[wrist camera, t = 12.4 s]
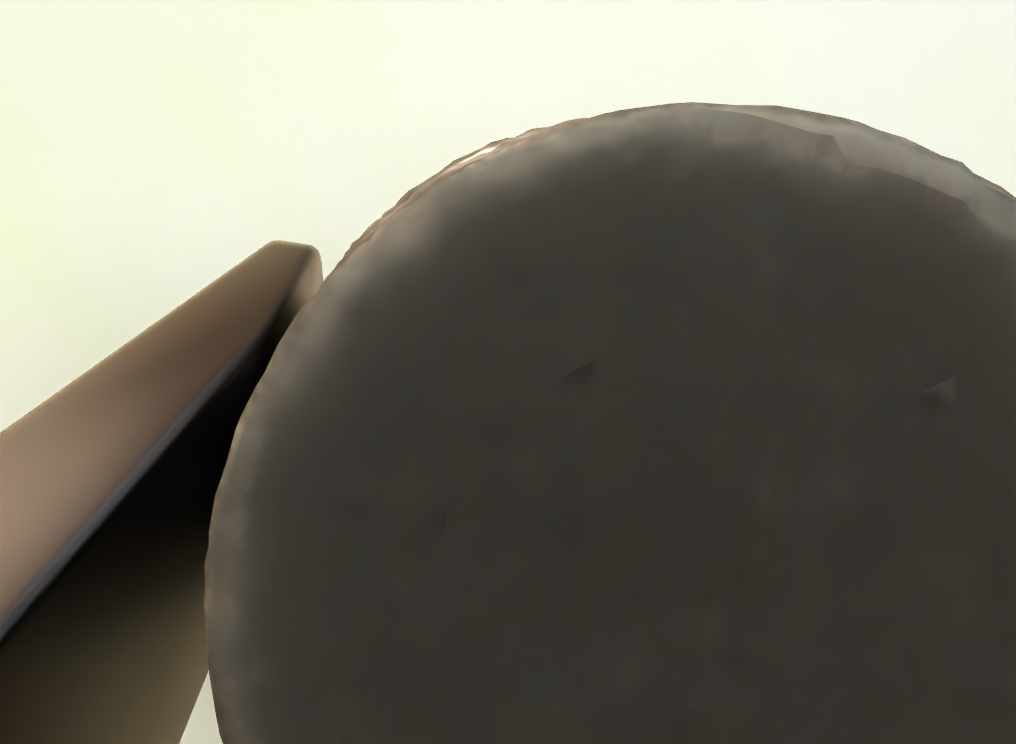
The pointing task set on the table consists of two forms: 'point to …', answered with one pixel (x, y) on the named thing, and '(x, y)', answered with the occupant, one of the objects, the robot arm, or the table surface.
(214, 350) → the robot arm
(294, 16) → the table surface
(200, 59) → the table surface
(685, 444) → the pill bottle
